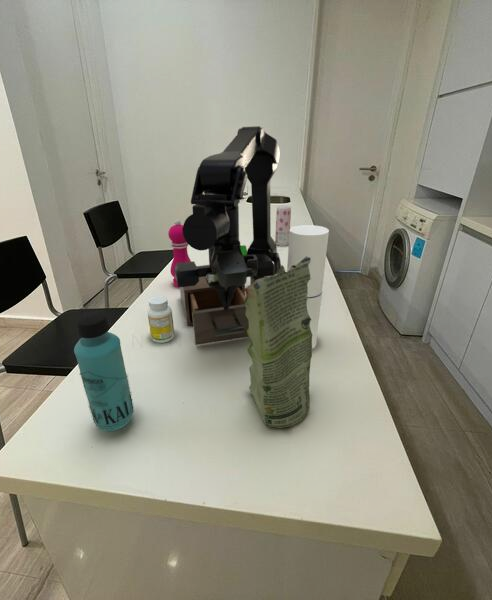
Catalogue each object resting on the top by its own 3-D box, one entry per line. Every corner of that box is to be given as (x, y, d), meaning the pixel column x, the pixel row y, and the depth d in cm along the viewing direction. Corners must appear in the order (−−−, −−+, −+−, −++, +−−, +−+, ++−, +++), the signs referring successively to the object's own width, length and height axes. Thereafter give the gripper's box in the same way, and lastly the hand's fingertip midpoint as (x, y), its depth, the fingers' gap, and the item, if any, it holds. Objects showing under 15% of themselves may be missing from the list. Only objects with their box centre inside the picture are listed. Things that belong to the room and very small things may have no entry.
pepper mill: (191, 289, 99) (185, 222, 90) (168, 287, 101) (160, 222, 92) (197, 279, 106) (193, 216, 96) (176, 278, 107) (169, 216, 98)
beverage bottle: (100, 410, 57) (72, 307, 48) (139, 406, 57) (119, 304, 48) (90, 441, 51) (56, 331, 42) (133, 437, 51) (109, 327, 42)
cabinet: (245, 317, 83) (245, 282, 79) (187, 326, 80) (183, 290, 76) (231, 293, 96) (230, 262, 91) (181, 300, 93) (177, 268, 89)
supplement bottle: (167, 345, 73) (162, 307, 69) (146, 340, 75) (140, 303, 71) (178, 332, 78) (174, 296, 73) (159, 329, 80) (154, 293, 75)
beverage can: (291, 243, 136) (293, 206, 129) (285, 246, 132) (287, 208, 125) (278, 241, 139) (280, 204, 132) (272, 244, 135) (274, 207, 128)
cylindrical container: (296, 355, 69) (306, 237, 57) (276, 338, 74) (281, 228, 63) (323, 345, 71) (337, 231, 60) (301, 329, 77) (311, 223, 66)
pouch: (244, 430, 52) (244, 284, 40) (244, 379, 62) (243, 253, 51) (316, 431, 51) (336, 284, 40) (303, 379, 62) (316, 251, 50)
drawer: (261, 347, 70) (262, 315, 66) (198, 357, 67) (196, 324, 64) (239, 308, 86) (238, 280, 82) (187, 315, 83) (185, 287, 80)
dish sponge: (245, 251, 129) (245, 245, 128) (248, 263, 117) (248, 257, 116) (227, 251, 129) (227, 245, 128) (228, 264, 117) (227, 257, 116)
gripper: (176, 252, 51) (184, 336, 58) (288, 240, 55) (284, 321, 62) (170, 233, 61) (178, 308, 68) (266, 224, 64) (264, 296, 72)
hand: (225, 308), depth 67 cm, fingers closed
